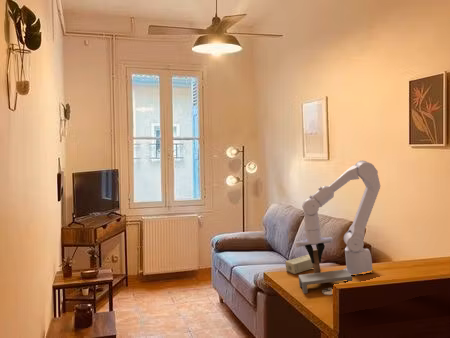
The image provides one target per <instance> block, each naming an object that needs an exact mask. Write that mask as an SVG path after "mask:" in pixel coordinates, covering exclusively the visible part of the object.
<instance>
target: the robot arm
mask: <svg viewBox="0 0 450 338" xmlns="http://www.w3.org/2000/svg"><path fill="white" fill-rule="evenodd" d="M360 179H361V180H362V182H363V184H364V186H365V188H364V191H363V194H362V197H361V200H360V202H359V205H358V207H357V210H356V213H355V216H354V219H353V221H352V224H351V225H350V226H349V228H348V230H347V231H346V232H345V233H344V235H343V242H344V244H345V245H346V246H345V248H344V254H345V256H344V257H345V266H346V268H345V269H346V270H347V271H348V272H349V273H350V274H351V275H353V274H359V273H362V272H367V271H371V270H373V259H372V254H371V250H370V249H369V248H364V245H365V242H364V238H365V234H366V233H365V232H366V231H365V230H366V227H367V225H368V222H369V218H370V217H371V214H372V211H373V208H374V207H375V203H376V201H377V197H378V194H379V192H380V189H381V183H380V177H379V172H378V170H377V168H376V166H375V165H374V164H373V163H371V162H368V161H366V160H359V161H357V162H356V163H355V164H353V165H351V166H350V167H348V169H346V170H345V171H344V172H342V173H341V175H339V176H338V177H337V178H336V179H335V180H334V181H332V182H331V183H330V185H323V186H319V187H318V189H317V191H316V192H315V193H313V194H312V195H311V194H310V195H309V196H308V198H306V199H305V200H304V201H303V202H302V210H303V211H304V212H303V217H304V219H303V220H304V229H305V239H301V240H298V241H294V243H295V247H296V248H300V247H304V248H305V250H306V251H307V253H308V255H309V256H310V258H311V262H312V264H314V257H313V249H314V248H313V246H314V245H315V246H316V248H315V249H317V250H318V257H319V264H321V263H322V256H323V252H324V250H325V244H333V243H334V240H333V237H331V236H330V237H329V236H328V237H322V236H321V226H320V218H319V209H320V208H322V207H323V206H324V205H326V204H327V203H328V202H329V201H331V200H332V199H333V198H334V195H335V193H336V192H337V191H339V189H341V188H343V186H345V185H346V184H347V183H349V182H350V181H354V180H360Z"/></svg>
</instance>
